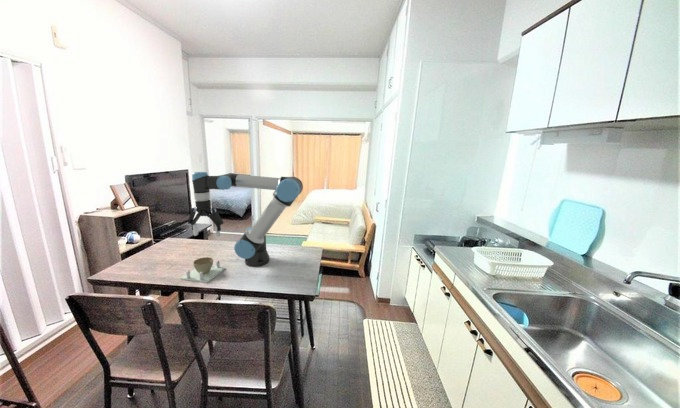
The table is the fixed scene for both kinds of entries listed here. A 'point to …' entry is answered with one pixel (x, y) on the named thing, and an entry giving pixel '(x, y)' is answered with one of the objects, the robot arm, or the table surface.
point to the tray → (203, 277)
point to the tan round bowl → (203, 264)
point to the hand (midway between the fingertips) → (207, 235)
